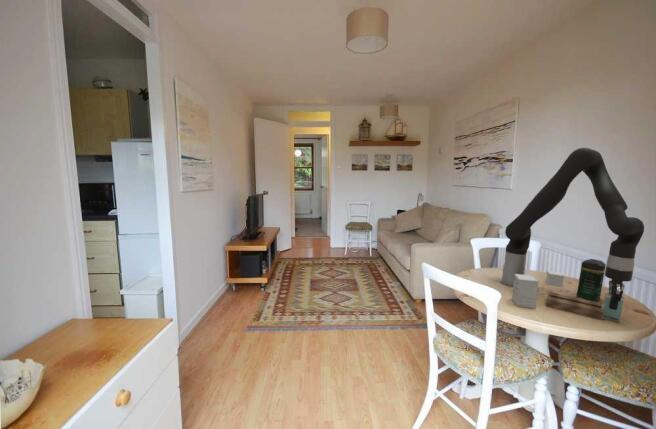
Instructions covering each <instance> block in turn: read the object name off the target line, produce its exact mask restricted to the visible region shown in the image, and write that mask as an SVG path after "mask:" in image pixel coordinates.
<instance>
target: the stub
mask: <svg viewBox="0 0 656 429" xmlns="http://www.w3.org/2000/svg"><path fill="white" fill-rule="evenodd" d="M610 297H611V294H609V293H605V296H604V303H603V306H602V308H603V311H604V314H603V315H604V316H608V317H612V318H617V319H619V320H621V318H622V317H621V316H622V310H623V307H624V306H623V305H624V300H625V298H624V296H622V297H621V301H620V302H619V301H618V307H617V310H614V309H610V308H609V305H610ZM616 298H618V297H616Z"/></svg>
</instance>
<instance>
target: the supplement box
mask: <svg viewBox="0 0 656 429" xmlns="http://www.w3.org/2000/svg"><path fill="white" fill-rule="evenodd" d="M538 289H539V280H538V279H537V278H535V276H534V275H529V274H524V275H521V274H514V284H513V286H512V295H511V299H512V301H513V303H514V305H515V306H516V307H521V308H529V309H536V308H537V306H536V305H537V300H538V291H539V290H538Z"/></svg>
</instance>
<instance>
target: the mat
mask: <svg viewBox="0 0 656 429" xmlns="http://www.w3.org/2000/svg"><path fill="white" fill-rule="evenodd" d="M603 320H608V321H611V322H616V323H620V319H617V318H612V317H608V316H604V315H603Z"/></svg>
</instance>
